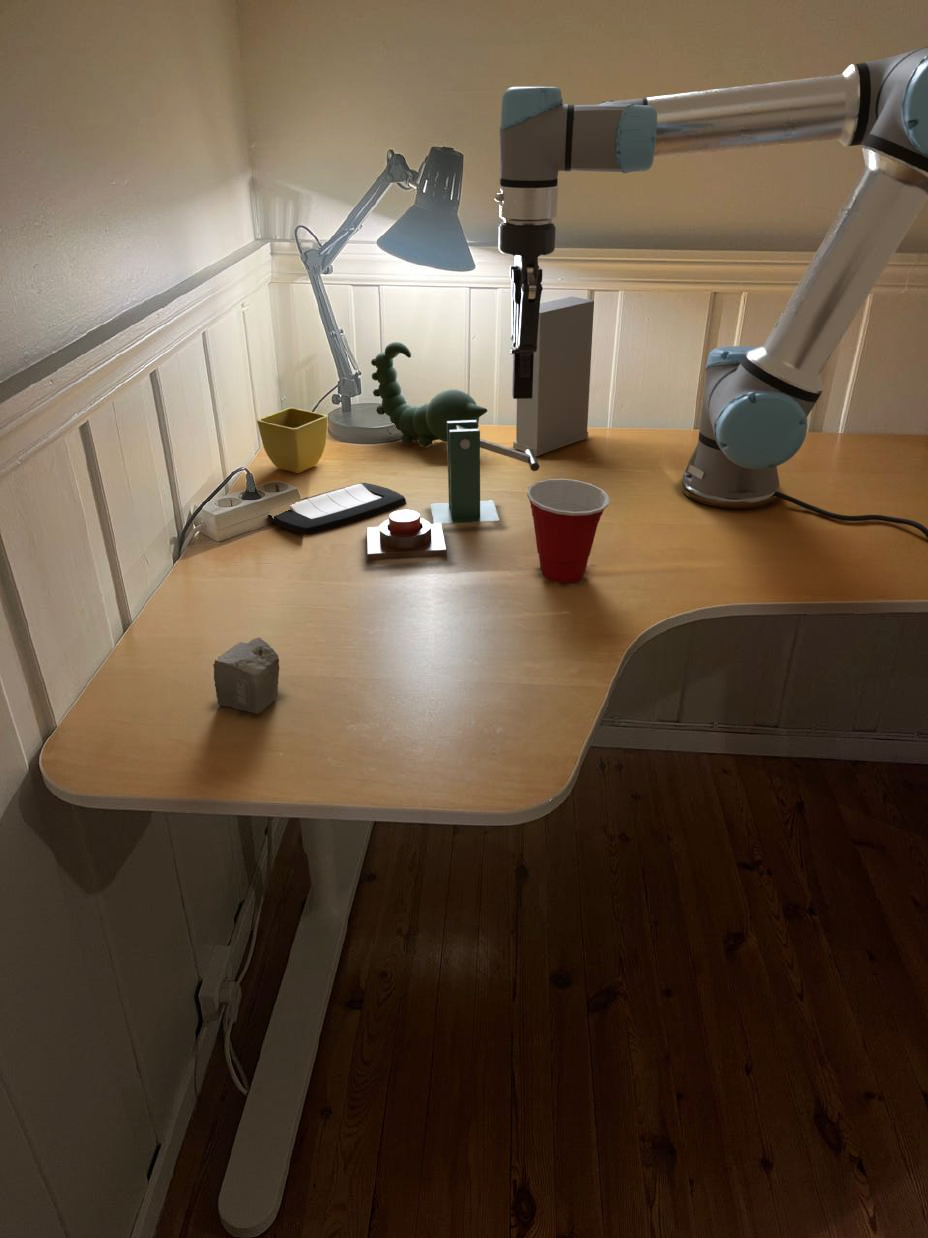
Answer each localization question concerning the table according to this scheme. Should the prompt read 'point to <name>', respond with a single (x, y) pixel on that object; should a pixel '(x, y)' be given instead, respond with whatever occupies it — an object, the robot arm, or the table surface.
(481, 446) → the switch lever
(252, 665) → the mineral specimen
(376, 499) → the light switch
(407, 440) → the toy figurine
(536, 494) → the plastic cup
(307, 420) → the flower pot
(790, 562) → the table surface
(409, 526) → the button
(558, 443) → the tall grey upright slab
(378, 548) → the button block
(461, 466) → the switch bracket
